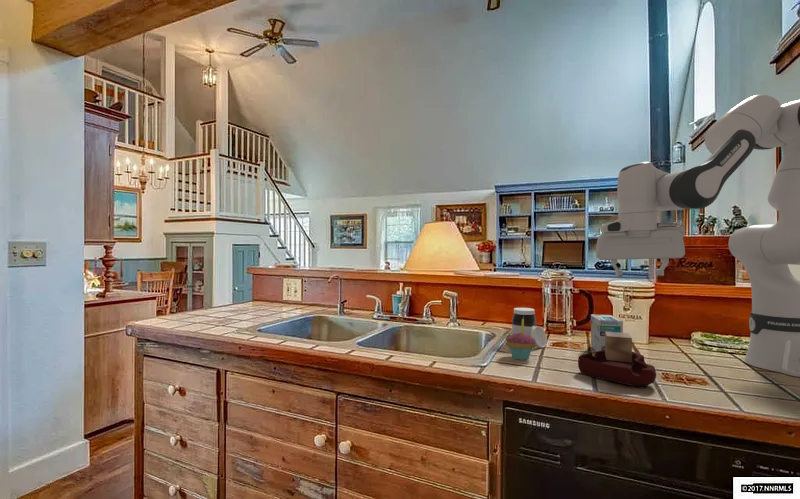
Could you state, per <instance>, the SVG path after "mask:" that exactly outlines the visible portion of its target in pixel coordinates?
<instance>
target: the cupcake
mask: <svg viewBox="0 0 800 499" xmlns="http://www.w3.org/2000/svg"><path fill="white" fill-rule="evenodd" d="M523 318H524V316H523ZM523 333H524V319H522V327H521V333H520V334H519V333H518V334H517V333H515V334H512V333H511V334H510V335H509V336H508V337H507V338H506V339H505V345H506V346H507V347H508V348H509V350H510V351H509V352H510V353H511V356H512V358H513V359H516V360H523V361H524V360H528V359H529V358H530V356H531V354H532V353H531V352H532V350H533V349H535V348H537V347H536V343H535V339H533V337H531V336H529V335H526V334H523Z"/></svg>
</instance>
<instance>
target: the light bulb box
mask: <svg viewBox="0 0 800 499" xmlns="http://www.w3.org/2000/svg"><path fill="white" fill-rule="evenodd" d="M605 332H618V333H624V321H623V320H621V319H619V318H617V317H615V316H613V315H611V314H590V347H591V348H592V349H593V350H594V351H595V353H596V352H597V351H601V350H605Z"/></svg>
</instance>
